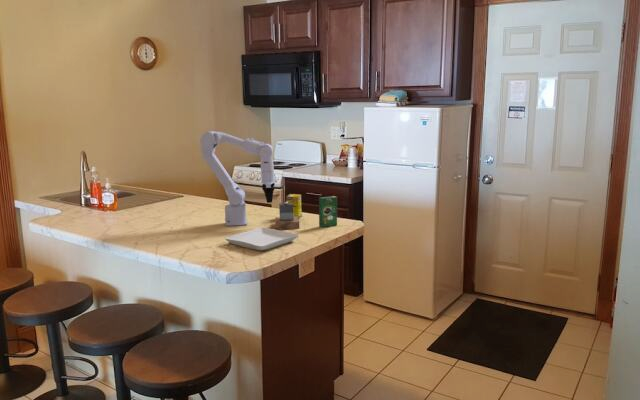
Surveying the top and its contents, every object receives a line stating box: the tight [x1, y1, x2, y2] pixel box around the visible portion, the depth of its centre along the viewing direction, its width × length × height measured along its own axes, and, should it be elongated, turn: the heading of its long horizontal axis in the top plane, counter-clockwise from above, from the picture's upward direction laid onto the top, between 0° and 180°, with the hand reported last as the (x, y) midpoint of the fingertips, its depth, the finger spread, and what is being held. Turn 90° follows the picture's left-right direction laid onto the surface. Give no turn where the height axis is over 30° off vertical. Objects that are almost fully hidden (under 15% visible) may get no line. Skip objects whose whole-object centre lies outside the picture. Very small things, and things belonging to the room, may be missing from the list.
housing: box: [278, 201, 294, 221], centre depth 226 cm, size 6×4×8 cm, turn 96°
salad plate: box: [225, 227, 299, 251], centre depth 202 cm, size 21×21×3 cm
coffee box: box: [318, 195, 338, 228], centre depth 225 cm, size 8×3×13 cm, turn 119°
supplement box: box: [285, 193, 303, 220], centre depth 241 cm, size 6×6×11 cm
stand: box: [275, 216, 300, 230], centre depth 227 cm, size 10×10×3 cm
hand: (269, 200), depth 231 cm, fingers open, 7 cm apart
